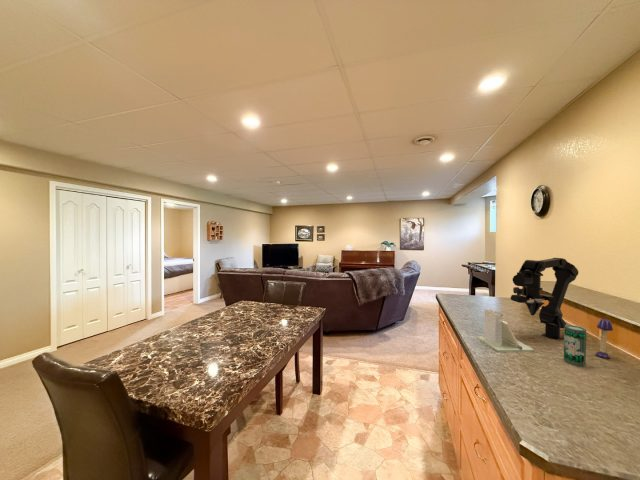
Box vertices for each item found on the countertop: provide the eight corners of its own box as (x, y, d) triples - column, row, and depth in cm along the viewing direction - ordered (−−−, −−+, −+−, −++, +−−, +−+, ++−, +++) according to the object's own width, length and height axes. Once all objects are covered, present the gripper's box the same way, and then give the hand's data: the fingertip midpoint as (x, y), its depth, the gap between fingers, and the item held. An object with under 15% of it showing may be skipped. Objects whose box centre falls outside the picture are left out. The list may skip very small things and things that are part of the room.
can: (561, 360, 106) (562, 326, 106) (568, 357, 109) (569, 324, 108) (580, 367, 101) (581, 331, 100) (587, 364, 103) (588, 329, 103)
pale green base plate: (509, 337, 129) (509, 333, 129) (534, 351, 114) (534, 346, 114) (477, 338, 129) (477, 333, 129) (497, 352, 114) (497, 347, 114)
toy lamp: (606, 355, 111) (607, 318, 110) (615, 360, 106) (616, 322, 106) (592, 353, 112) (593, 317, 112) (600, 358, 108) (601, 320, 107)
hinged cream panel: (500, 335, 128) (488, 312, 128) (520, 346, 116) (507, 321, 115) (499, 336, 128) (487, 313, 128) (518, 347, 116) (505, 322, 115)
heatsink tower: (493, 339, 126) (493, 309, 125) (504, 346, 118) (505, 315, 117) (484, 339, 126) (484, 309, 125) (495, 346, 118) (495, 315, 117)
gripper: (537, 281, 134) (536, 310, 134) (502, 281, 134) (502, 310, 134) (557, 286, 122) (556, 317, 123) (519, 286, 122) (519, 317, 123)
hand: (532, 315), depth 126 cm, fingers closed
